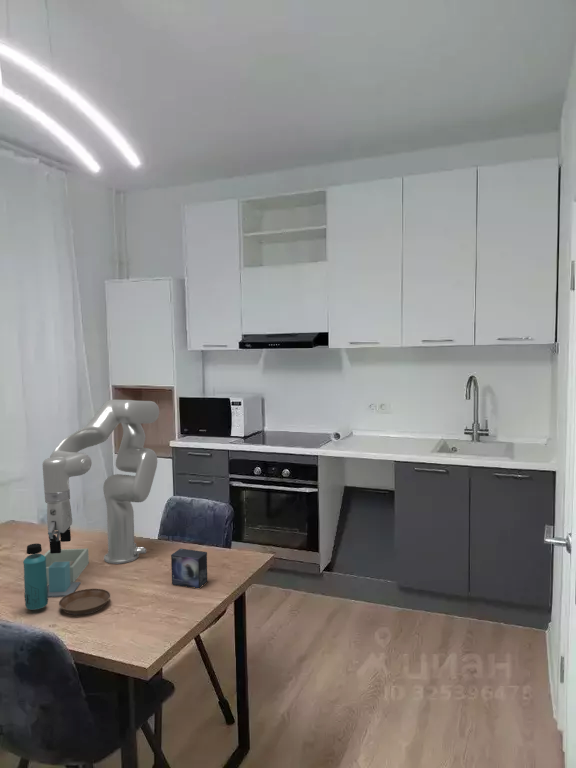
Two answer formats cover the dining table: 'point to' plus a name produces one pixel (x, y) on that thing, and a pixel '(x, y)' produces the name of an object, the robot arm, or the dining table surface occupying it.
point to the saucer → (84, 601)
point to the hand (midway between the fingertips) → (60, 547)
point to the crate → (75, 556)
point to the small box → (189, 568)
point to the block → (59, 576)
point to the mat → (71, 589)
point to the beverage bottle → (35, 578)
